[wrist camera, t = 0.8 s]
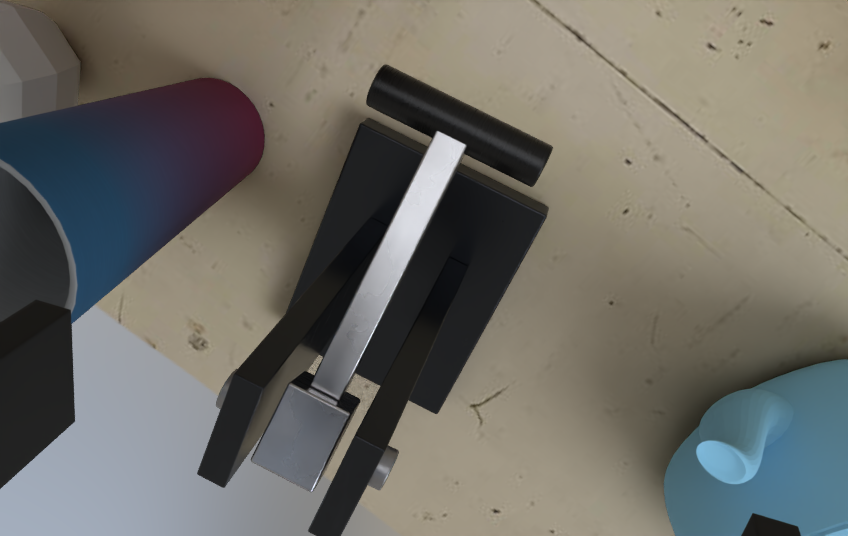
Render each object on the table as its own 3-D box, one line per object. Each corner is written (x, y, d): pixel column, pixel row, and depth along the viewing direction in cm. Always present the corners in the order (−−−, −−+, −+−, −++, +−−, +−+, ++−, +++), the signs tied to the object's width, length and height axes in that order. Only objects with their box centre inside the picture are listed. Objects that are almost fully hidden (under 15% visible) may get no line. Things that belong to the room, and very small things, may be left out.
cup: (141, 53, 35) (-155, 130, 22) (278, 61, 34) (53, 148, 20) (159, 193, 38) (-92, 337, 24) (287, 206, 36) (94, 366, 23)
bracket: (368, 116, 34) (206, 237, 20) (549, 206, 33) (503, 387, 20) (286, 323, 39) (117, 522, 26) (441, 402, 39) (350, 644, 26)
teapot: (886, 354, 22) (1219, 749, 24) (806, 224, 31) (1051, 518, 34) (548, 536, 27) (848, 842, 30) (567, 379, 37) (794, 621, 39)
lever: (389, 73, 26) (381, 54, 23) (548, 152, 25) (558, 141, 23) (219, 417, 26) (195, 433, 24) (374, 496, 26) (366, 521, 23)
